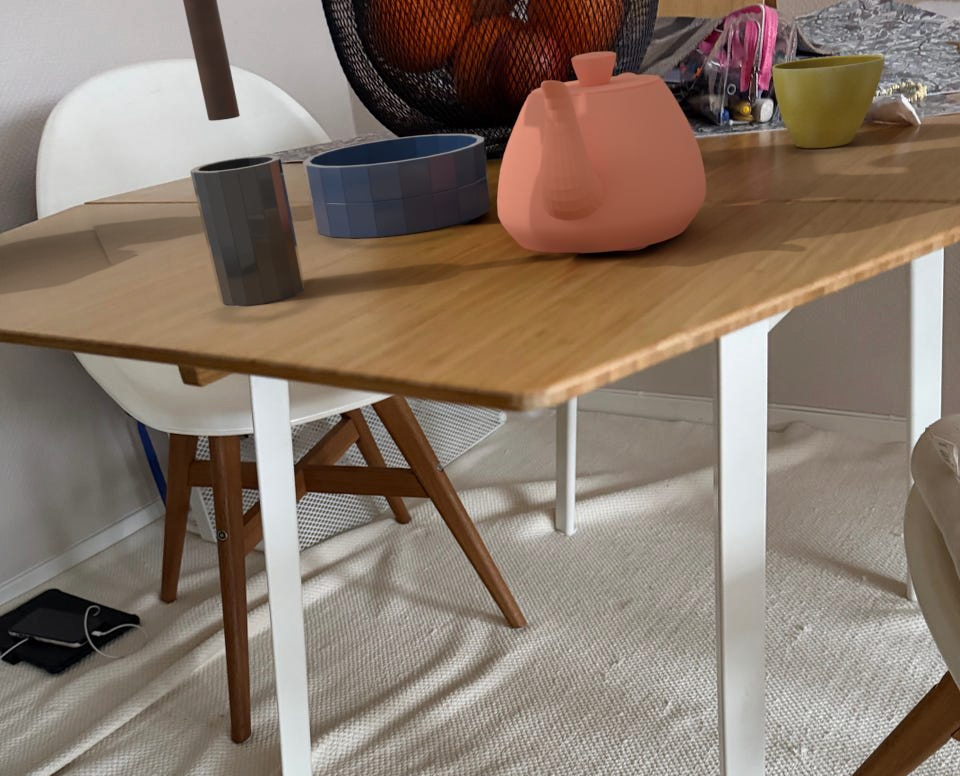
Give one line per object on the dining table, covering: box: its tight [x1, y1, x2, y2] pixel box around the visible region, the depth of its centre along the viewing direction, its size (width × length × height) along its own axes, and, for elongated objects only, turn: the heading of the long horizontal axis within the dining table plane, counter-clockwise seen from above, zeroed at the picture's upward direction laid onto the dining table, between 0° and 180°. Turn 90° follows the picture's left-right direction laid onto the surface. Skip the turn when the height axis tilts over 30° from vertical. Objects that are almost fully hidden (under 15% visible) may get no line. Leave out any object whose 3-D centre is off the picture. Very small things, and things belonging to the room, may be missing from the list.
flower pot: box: [771, 54, 886, 149], centre depth 104 cm, size 10×10×7 cm
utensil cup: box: [189, 155, 306, 307], centre depth 74 cm, size 6×6×9 cm
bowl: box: [302, 133, 492, 239], centre depth 93 cm, size 15×15×6 cm
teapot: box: [496, 51, 707, 254], centre depth 77 cm, size 22×15×12 cm
